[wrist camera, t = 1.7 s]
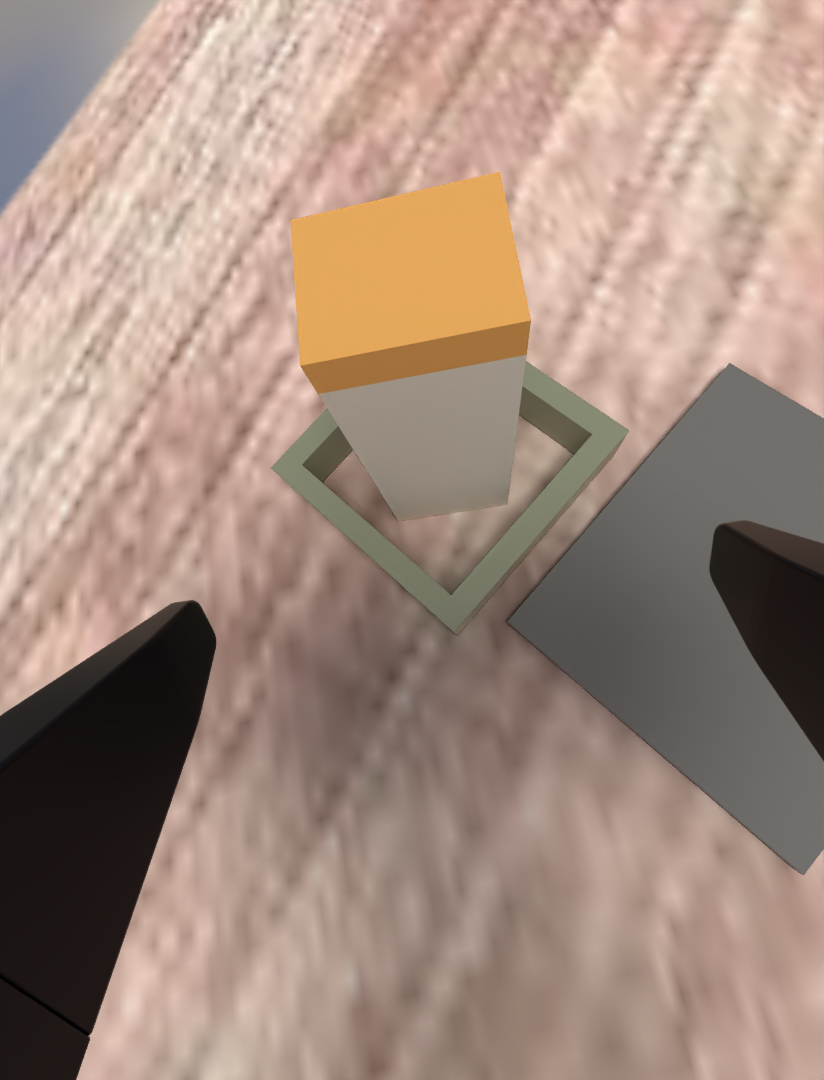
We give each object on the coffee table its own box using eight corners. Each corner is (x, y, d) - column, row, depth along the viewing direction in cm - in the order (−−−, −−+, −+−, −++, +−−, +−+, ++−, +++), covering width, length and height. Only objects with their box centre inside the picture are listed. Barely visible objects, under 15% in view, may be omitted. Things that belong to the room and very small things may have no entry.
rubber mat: (793, 868, 18) (803, 875, 17) (506, 622, 21) (507, 621, 20) (1030, 554, 19) (1048, 550, 18) (723, 370, 22) (729, 363, 22)
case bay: (457, 635, 21) (453, 632, 19) (292, 487, 24) (270, 468, 22) (613, 455, 22) (629, 430, 20) (436, 332, 25) (431, 297, 22)
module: (507, 504, 22) (531, 320, 10) (398, 521, 23) (300, 365, 11) (493, 424, 23) (499, 172, 11) (389, 442, 24) (290, 219, 12)
